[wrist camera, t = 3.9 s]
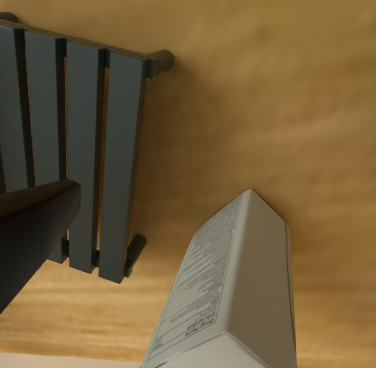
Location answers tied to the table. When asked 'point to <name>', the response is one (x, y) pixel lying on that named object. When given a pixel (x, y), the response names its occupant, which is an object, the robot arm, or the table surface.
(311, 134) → the table surface
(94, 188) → the rack
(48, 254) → the robot arm
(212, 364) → the cosmetic box
